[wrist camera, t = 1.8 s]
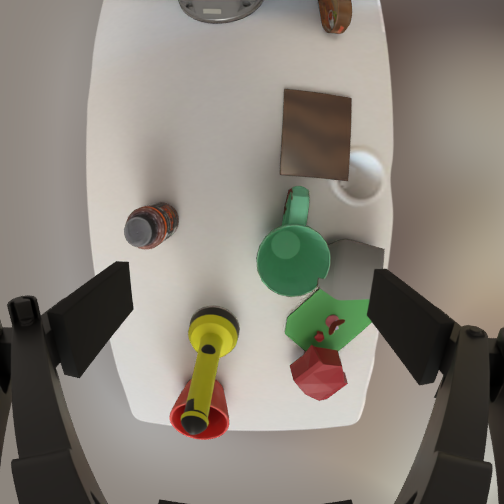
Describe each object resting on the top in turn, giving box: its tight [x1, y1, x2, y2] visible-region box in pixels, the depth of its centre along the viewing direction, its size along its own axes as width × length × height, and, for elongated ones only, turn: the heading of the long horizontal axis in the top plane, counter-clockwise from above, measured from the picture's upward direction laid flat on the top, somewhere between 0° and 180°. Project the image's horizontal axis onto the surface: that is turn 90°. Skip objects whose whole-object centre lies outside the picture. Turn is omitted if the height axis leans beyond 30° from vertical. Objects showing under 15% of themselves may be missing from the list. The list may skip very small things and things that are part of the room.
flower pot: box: [170, 379, 229, 440], centre depth 51 cm, size 11×11×10 cm
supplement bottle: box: [124, 202, 178, 249], centre depth 42 cm, size 6×6×11 cm
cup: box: [318, 239, 384, 300], centre depth 44 cm, size 10×9×10 cm
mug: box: [256, 186, 330, 297], centre depth 43 cm, size 15×10×10 cm
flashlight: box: [181, 306, 240, 435], centre depth 40 cm, size 25×9×9 cm
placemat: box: [280, 89, 352, 181], centre depth 44 cm, size 14×11×1 cm
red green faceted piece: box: [285, 289, 372, 401], centre depth 48 cm, size 15×20×9 cm
